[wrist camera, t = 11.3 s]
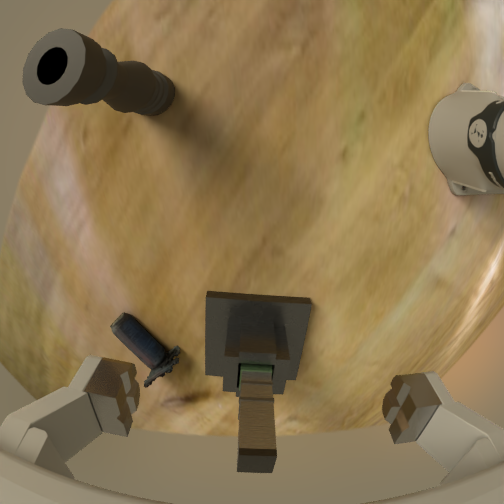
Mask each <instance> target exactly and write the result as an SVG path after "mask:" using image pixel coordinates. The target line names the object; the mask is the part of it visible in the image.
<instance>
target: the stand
mask: <svg viewBox="0 0 504 504" xmlns="http://www.w3.org/2000/svg"><path fill="white" fill-rule="evenodd" d="M311 305H312V304H311V300H310V298H303V297H285V296H270V295H255V294H241V293H228V292H215V291H207V295H206V326H205V375H212V376H223V391H228V392H236V397H239V394H240V391H239V382H240V370H241V364H242V363H249V364H267V365H272V376H271V377H272V382H273V387H272V391H273V394H283V393H284V388H285V383H286V380H296V376H297V372H298V368H299V363H300V359H301V354H302V350H303V345H304V340H305V335H306V331H307V326H308V321H309V316H310V311H311Z"/></svg>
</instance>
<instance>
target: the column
mask: <svg viewBox="0 0 504 504" xmlns="http://www.w3.org/2000/svg"><path fill="white" fill-rule="evenodd" d="M271 376H272V365H267V364H249V363H242V364H241V370H240V382H239V391H240V394H239V414H238V420H239V431H238V459H237V472H253V473H272V471H273V468H274V465H275V461H276V458H277V450H276V435H275V420H274V405H273V404H274V398H273V391H272V387H273V382H272V377H271Z"/></svg>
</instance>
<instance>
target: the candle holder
mask: <svg viewBox="0 0 504 504" xmlns="http://www.w3.org/2000/svg"><path fill="white" fill-rule="evenodd" d="M23 85H24V89H25V91H26V95H27V96H28V97H29V98H30V99H31V100H32V101H33V102H35V103H39V104H43V105H57V106H69V105H74V104H78V103H81V104H85V105H87V104H92V103H97V102H99V101H100V100H103V101H105V102H106V103H107V104H108V105H110V106H111V107H112V108H113V109H114V110H117V111H120V112H123V113H128V112H135V113H138V114H141V115H148V116H151V115H158V114H160V113H162V112H164V111H166V110H167V109H168V108H169V106H170V105H171V104H172V102H173V99H174V97H175V88H174V86H173V83H172V81H171V80H170V79H169V78H168V77H166V76H165V75H163V74H162V73H160V72H158V71H154V70H151V69H150V68H149V67H148V66H147V65H145V64H144V63H141V62H137V61H124V62H117V59H116V57H115V55H113V54H112V53H111V52H110V51H109V50H107V49H104V48H101V46H100V45H99V44H98V43H97V42H95V41H94V40H93V39H91V38H89V37H87V36H85V35H83V34H81V33H78V32H76V31H74V30H71V29H62V28H61V29H58V30H55V31H52V32H49V33H48V34H46V35H45V36H44V37H43V38H41V39H40V40H39V41H38V42H37V43H36V44H35V46H34V47H33V49H32V50H31V51H30V53H29V54H28V57H27V60H26V63H25V66H24V68H23Z"/></svg>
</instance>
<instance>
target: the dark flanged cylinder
mask: <svg viewBox="0 0 504 504" xmlns="http://www.w3.org/2000/svg"><path fill="white" fill-rule="evenodd" d="M110 327H111V329H112V332H113V333H114V335H115V336H116V337H117V338H118V339H119V340H120V341H121V342H122V343H123V344H124V345H125V346H126V347H127V348H128V349H129V350H131V351H132V352H133V353H134V354H135V355H136V356H137V357H138V358H139V359H140V360H141V361H142V362H143V363H144V364H145V365H146V366H147V367H149V368H150V369H151V372H150V375H149V377H147V378H148V379H147V380H145V381H144V383H145V384H144V387H148V386H149V385H151V384H152V381H155V379H156V378H157V377H159V376H160V377H163V376H164V375H165V372H166V373H170V372H171V371H172V369H173V368H172V366H173V365H174V364H176V363H177V364H178V363H179V358H175V360H173V357H174V356H178V355H179V353H180V350H179V349H180V347H179V348H178V347H177V346H176V347H174V348H173V349H171V350H170V351H168V353H166V352H165V350H164V348H163V347H162V346H161V345H160V344H159V343H158V342H157V341H156V340H155V339H154V338H153V337H152V336H151V335H150V334H149V333H148V332H147V331H146V330H145V329H144V328H143V327H142V326H141V325H140V324H139V323H138V322H137V321H136V320H135V319H134V318H133V317H132V316H131V315H130V314H127V313H125V312H124V313H122V315H120V316H119V317H118V318H117V319H116V321H115V322H114V323H113V324H112V325H111V326H110Z"/></svg>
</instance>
